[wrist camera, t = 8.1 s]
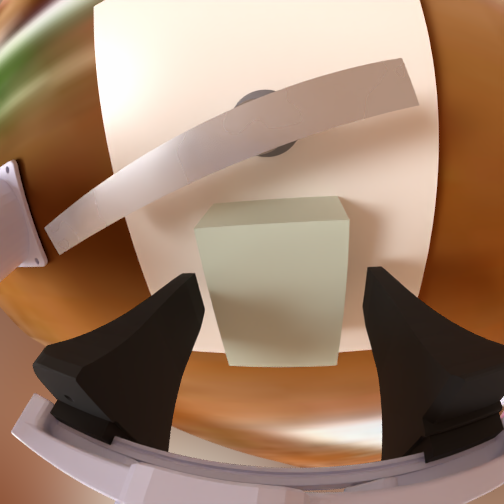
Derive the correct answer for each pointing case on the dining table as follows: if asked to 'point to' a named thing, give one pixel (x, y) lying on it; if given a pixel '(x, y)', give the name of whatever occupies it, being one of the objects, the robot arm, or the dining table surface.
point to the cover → (277, 278)
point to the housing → (283, 157)
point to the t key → (237, 142)
